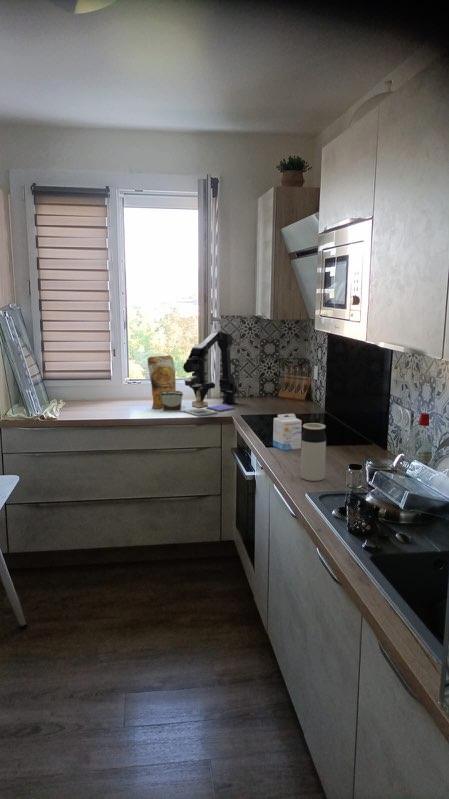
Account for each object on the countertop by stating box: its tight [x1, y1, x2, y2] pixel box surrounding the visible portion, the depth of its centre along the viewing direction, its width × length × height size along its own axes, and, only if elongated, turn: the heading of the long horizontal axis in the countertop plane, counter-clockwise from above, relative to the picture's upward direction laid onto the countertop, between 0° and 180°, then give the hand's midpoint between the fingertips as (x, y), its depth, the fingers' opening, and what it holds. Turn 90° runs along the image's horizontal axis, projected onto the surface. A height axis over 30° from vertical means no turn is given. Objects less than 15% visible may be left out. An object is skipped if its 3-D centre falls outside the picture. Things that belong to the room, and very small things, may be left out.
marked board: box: [181, 407, 219, 417], centre depth 288 cm, size 12×15×1 cm
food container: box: [160, 390, 184, 412], centre depth 295 cm, size 12×6×10 cm, turn 84°
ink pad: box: [205, 404, 236, 413], centre depth 296 cm, size 11×11×1 cm
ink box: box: [272, 413, 302, 451], centre depth 220 cm, size 9×8×13 cm
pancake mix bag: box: [147, 354, 177, 409], centre depth 302 cm, size 7×19×28 cm, turn 133°
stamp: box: [191, 390, 209, 409], centre depth 286 cm, size 6×6×9 cm
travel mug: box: [300, 422, 327, 482], centre depth 182 cm, size 8×8×18 cm
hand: (199, 400), depth 286 cm, fingers closed on stamp, 4 cm apart
